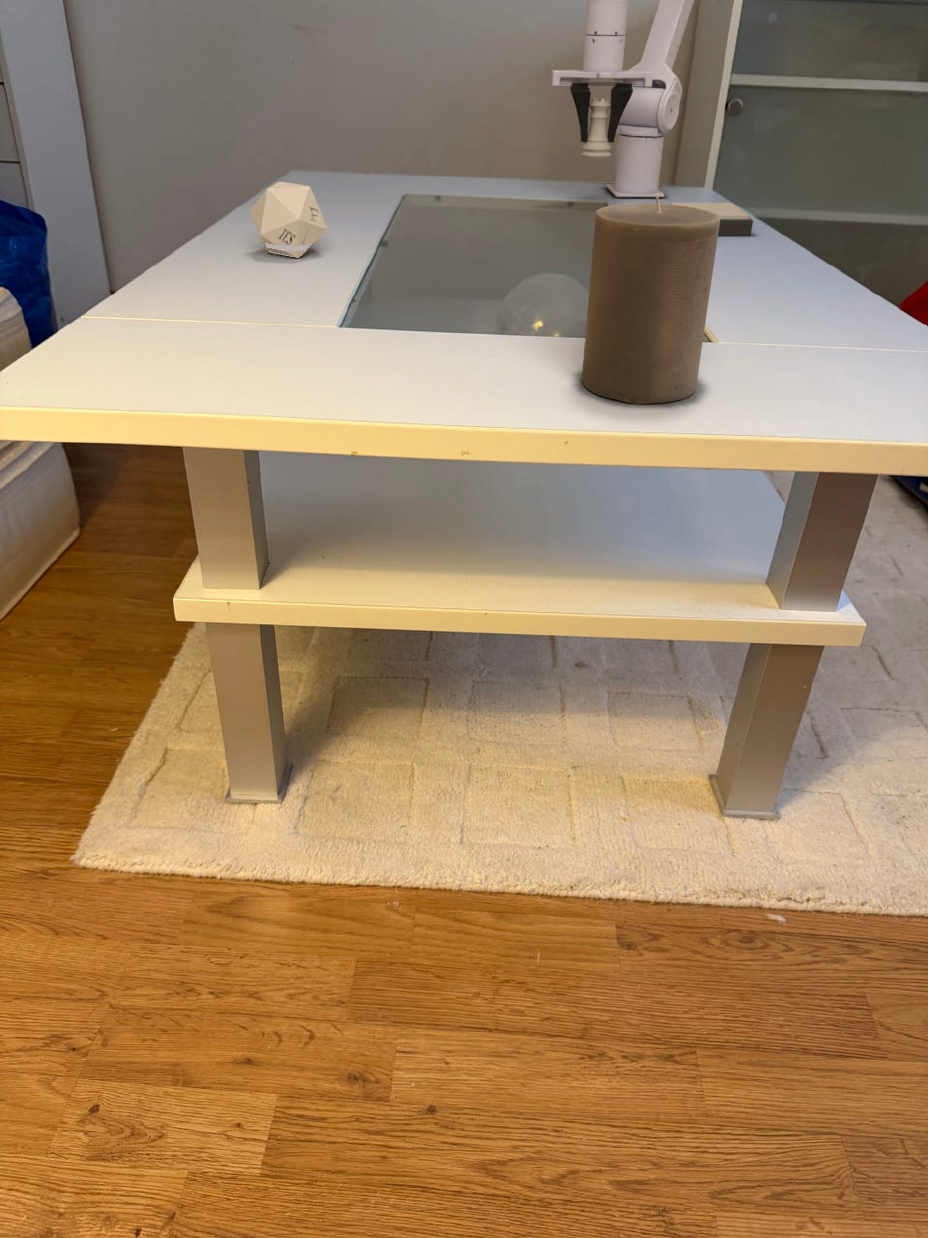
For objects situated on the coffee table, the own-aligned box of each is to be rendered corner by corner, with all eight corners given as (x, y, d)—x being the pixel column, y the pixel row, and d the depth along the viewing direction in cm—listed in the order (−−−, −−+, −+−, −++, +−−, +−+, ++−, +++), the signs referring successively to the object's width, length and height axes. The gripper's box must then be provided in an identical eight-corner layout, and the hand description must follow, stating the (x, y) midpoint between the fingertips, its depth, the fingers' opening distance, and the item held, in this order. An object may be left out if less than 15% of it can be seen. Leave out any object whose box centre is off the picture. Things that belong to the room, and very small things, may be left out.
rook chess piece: (612, 159, 142) (617, 99, 137) (582, 159, 142) (586, 98, 137) (609, 155, 145) (614, 96, 141) (579, 155, 146) (584, 95, 141)
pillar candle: (619, 411, 76) (640, 210, 68) (561, 373, 83) (574, 188, 75) (720, 395, 79) (751, 201, 71) (655, 360, 87) (677, 181, 78)
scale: (663, 220, 140) (665, 201, 138) (730, 220, 140) (733, 201, 138) (679, 235, 131) (681, 215, 129) (750, 235, 131) (754, 215, 130)
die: (261, 270, 115) (305, 201, 110) (224, 221, 118) (265, 151, 113) (309, 282, 122) (352, 218, 117) (273, 236, 125) (314, 171, 120)
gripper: (557, 35, 131) (551, 144, 139) (661, 36, 132) (649, 145, 139) (552, 33, 137) (546, 138, 145) (651, 34, 138) (641, 138, 145)
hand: (596, 141), depth 142 cm, fingers closed on rook chess piece, 3 cm apart
